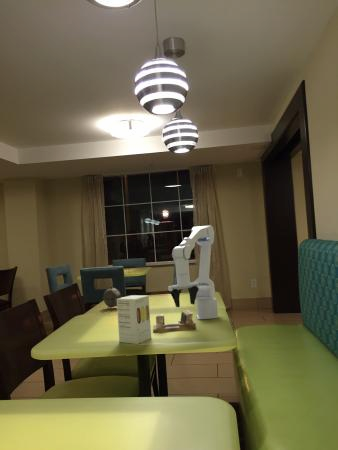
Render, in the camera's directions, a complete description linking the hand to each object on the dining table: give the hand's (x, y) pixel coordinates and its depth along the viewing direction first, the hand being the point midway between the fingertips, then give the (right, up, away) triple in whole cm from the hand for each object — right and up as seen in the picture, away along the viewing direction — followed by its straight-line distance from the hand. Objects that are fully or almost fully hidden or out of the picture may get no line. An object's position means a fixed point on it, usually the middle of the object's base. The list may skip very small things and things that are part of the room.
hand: (185, 305), depth 156 cm
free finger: (+1, -8, 0) cm, 8 cm away
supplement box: (-20, -11, -15) cm, 27 cm away
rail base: (-5, -10, -1) cm, 11 cm away
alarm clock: (-41, -15, +58) cm, 73 cm away
